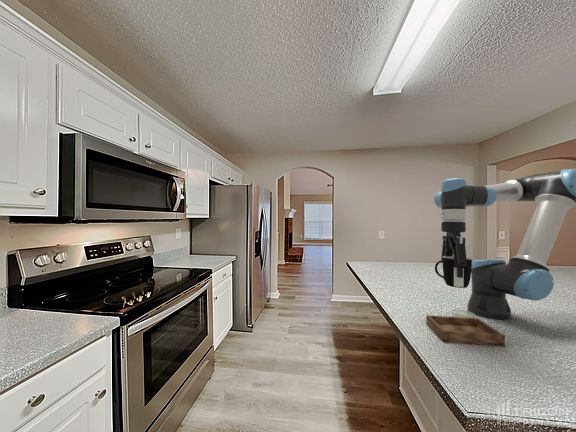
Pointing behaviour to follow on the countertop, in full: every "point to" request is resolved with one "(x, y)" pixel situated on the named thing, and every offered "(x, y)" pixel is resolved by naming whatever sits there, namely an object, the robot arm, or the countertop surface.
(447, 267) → the mug
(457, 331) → the walnut tray
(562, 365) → the countertop surface
